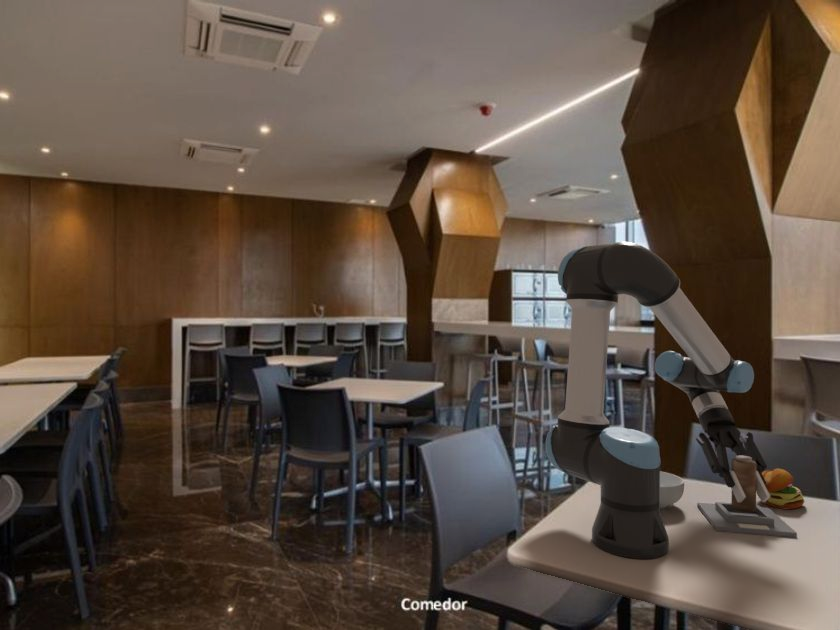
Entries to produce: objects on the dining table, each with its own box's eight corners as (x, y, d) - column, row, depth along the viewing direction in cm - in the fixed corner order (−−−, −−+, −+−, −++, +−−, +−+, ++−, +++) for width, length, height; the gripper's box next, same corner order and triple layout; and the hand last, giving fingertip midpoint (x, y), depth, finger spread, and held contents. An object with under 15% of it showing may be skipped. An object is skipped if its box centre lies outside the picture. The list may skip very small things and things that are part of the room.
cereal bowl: (672, 495, 148) (672, 469, 148) (693, 518, 131) (694, 488, 131) (606, 492, 150) (606, 466, 150) (619, 514, 134) (619, 485, 134)
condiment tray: (716, 530, 124) (716, 519, 124) (697, 506, 139) (697, 496, 139) (796, 537, 120) (796, 525, 120) (768, 511, 136) (768, 501, 136)
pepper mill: (735, 511, 128) (735, 459, 128) (728, 503, 133) (728, 453, 133) (759, 512, 127) (759, 460, 127) (751, 505, 132) (751, 455, 131)
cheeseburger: (815, 512, 135) (804, 472, 135) (768, 519, 137) (758, 480, 138) (795, 498, 145) (785, 460, 145) (752, 505, 147) (742, 468, 147)
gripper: (741, 422, 145) (784, 506, 129) (673, 422, 145) (708, 507, 128) (754, 405, 140) (800, 491, 123) (684, 405, 139) (722, 492, 123)
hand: (753, 499), depth 126 cm, fingers closed on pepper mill, 5 cm apart
